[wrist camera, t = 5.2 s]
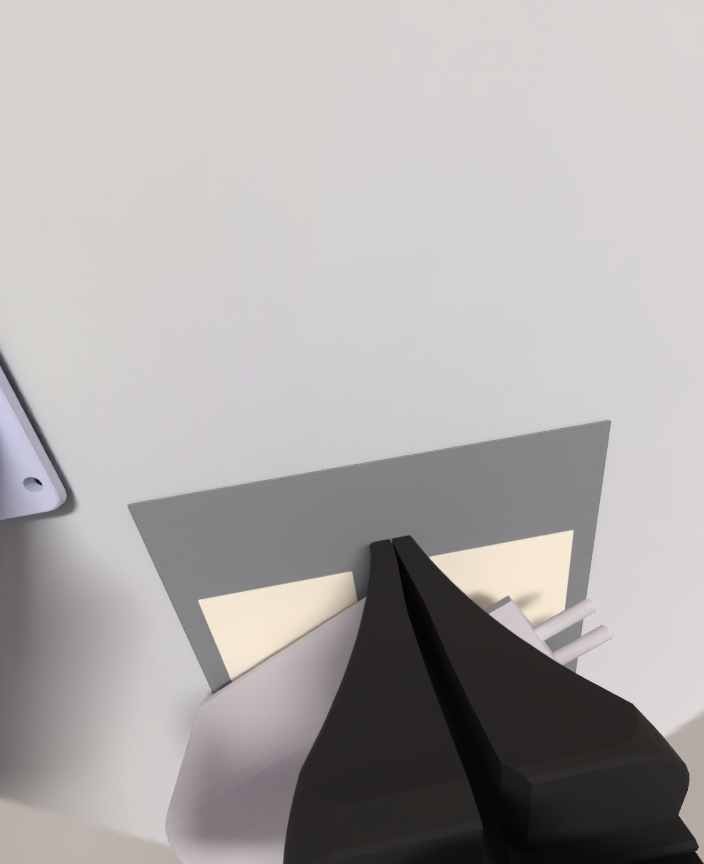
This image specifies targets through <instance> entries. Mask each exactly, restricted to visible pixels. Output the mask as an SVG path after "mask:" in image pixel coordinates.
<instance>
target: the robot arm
mask: <svg viewBox="0 0 704 864" xmlns="http://www.w3.org/2000/svg"><path fill="white" fill-rule="evenodd" d="M34 478H36V479H38V480H39V481H40V482H41V483H42V485H40V484H38V483H37V482H36V481H35V480H34ZM66 497H67V494H66V491H65V489H64V487H63V485H62V483H61V481H60V479H59V477H58V475H57V473H56V471H55V470H54V468H53V466H52V464H51V462H50V460H49V458H48V456H47V454H46V452H45V450H44V449H43V447H42V445H41V443H40V441H39V439H38V437H37V435H36V433H35V431H34V429H33V428H32V426H31V424H30V422H29V420H28V418H27V416H26V414H25V412H24V410H23V409H22V407H21V405H20V403H19V401H18V399H17V397H16V395H15V393H14V391H13V389H12V388H11V386H10V384H9V382H8V380H7V378H6V376H5V374H4V372H3V370H2V369H1V367H0V520H4V519H10V518H15V517H21V516H27V515H33V514H38V513H44V512H50V511H52V510H55V509H56V508H58V507H59V506H60V505H62V504H63V503H64V502H65V501H66ZM392 543H393V545H392ZM392 543H391V540H390V539H386V540H381V541H375V542H372V543H371V544H370V545H369V546H370V554H371V563H370V575H369V582H368V589H367V595H366V600H365V605H364V610H363V614H362V619H361V623H360V626H359V630H358V634H357V637H356V641H355V644H354V647H353V650H352V653H351V656H350V659H349V662H348V665H347V668H346V671H345V673H344V676H343V679H342V681H341V684H340V686H339V689H338V691H337V693H336V696H335V698H334V700H333V703H332V705H331V707H330V710H329V712H328V715H327V717H326V719H325V721H324V723H323V726H322V728H321V730H320V732H319V734H318V736H317V738H316V740H315V742H314V744H313V746H312V748H311V750H310V752H309V754H308V756H307V758H306V760H305V762H304V764H303V766H302V768H301V770H300V772H299V776H298V780H297V784H296V788H295V792H294V796H293V801H292V805H291V810H290V814H289V819H288V825H287V831H286V839H285V845H284V856H283V864H703V862H702V861H701V859H700V858H699V856H698V855H697V853H696V852H695V851H697V850H698V847H699V846H698V844H697V842H696V839H695V838H694V837H693V835H692V834H691V832H690V831H689V830H688V828H687V827H686V825H685V824H684V822H683V821H682V820H681V818H680V817H679V816H678V814H679V811H680V809H681V806H682V804H683V801H684V798H685V796H686V793H687V791H688V786H689V772H688V770H687V767H686V764H685V763H684V762H683V761H682V759H681V758H680V757H679V756H678V754H677V753H676V752H675V751H674V749H673V748H672V747H671V746H670V745H669V744H668V742H667V741H666V740H665V738H664V737H663V736H662V735H661V734H660V733H659V732H658V730H657V729H656V728H655V727H654V726H653V725H652V724H651V723H650V722H649V721H648V720H647V719H646V718H645V716H644V715H643V714H642V713H641V712H640V711H639V710H638V709H637V708H636V707H635V706H634V705H633V704H632V703H630V702H628V701H626V700H625V699H623V698H621V697H619V696H617V695H615V694H613V693H611V692H610V691H608V690H606V689H604V688H602V687H600V686H598V685H596V684H595V683H593V682H591V681H589V680H587V679H585V678H583V677H581V676H580V675H578V674H576V673H575V672H573V671H571V670H570V669H568V668H566V667H565V666H563V665H561V664H560V663H558V662H556V661H555V660H553V659H552V658H550V657H549V656H547V655H546V654H544V653H543V652H541V651H540V650H538V649H537V648H535V647H534V646H532V645H531V644H529V643H528V642H526V641H525V640H523V639H522V638H520V637H519V636H517V635H516V634H514V633H513V632H512V631H510V630H509V629H508V628H506V627H505V626H504V625H502V624H501V623H500V622H498V621H497V620H496V619H494V618H493V617H492V616H491V615H489V614H488V613H487V612H486V611H484V610H483V609H482V608H481V607H480V606H478V605H477V604H476V603H475V602H474V601H473V600H471V599H470V598H469V597H468V596H467V595H466V594H465V593H464V592H463V591H461V590H460V589H459V588H458V587H457V586H456V585H455V584H454V583H453V582H452V581H451V580H450V579H449V578H448V577H447V576H446V575H445V574H444V573H443V572H442V571H441V570H440V569H439V568H438V567H437V566H436V565H435V564H434V562H433V561H432V560H431V559H430V558H429V557H428V556H427V555H426V553H425V552H424V551H423V550H422V549H421V547H420V546H419V545H418V544H417V542H416V541H415V540H414V538H413V537H411V536H410V535H407V536H402V537H397V538H392Z"/></svg>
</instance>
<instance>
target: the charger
mask: <svg viewBox="0 0 704 864" xmlns="http://www.w3.org/2000/svg"><path fill="white" fill-rule="evenodd" d="M365 600H366V597H365V598H363V599H362V600H360V601H359V602H357V603H355V604H354V605H352V606H351V607H349V608H348V609H346V610H344V611H343V612H341V613H340V614H338V615H337V616H335V617H334V618H332V619H330V620H329V621H327V622H326V623H324V624H323V625H321V626H319V627H318V628H316V629H315V630H313V631H312V632H310V633H308V634H307V635H305V636H304V637H302V638H301V639H299V640H297V641H296V642H294V643H293V644H291V645H290V646H288V647H287V648H285V649H283V650H282V651H280V652H279V653H277V654H276V655H274V656H272V657H271V658H269V659H268V660H266V661H265V662H263V663H261V664H260V665H258V666H257V667H255V668H254V669H252V670H250V671H249V672H247V673H246V674H244V675H243V676H241V677H240V678H238V679H236V680H235V681H233V682H232V683H230V684H229V685H227V686H225V687H224V688H222V689H221V690H219V691H218V692H216V693H214V694H213V695H211V696H210V697H208V698H207V699H205V700H203V701H202V703H201V704H200V706H199V708H198V711H197V715H196V718H195V721H194V725H193V728H192V731H191V735H190V738H189V741H188V745H187V748H186V752H185V755H184V758H183V762H182V765H181V768H180V772H179V775H178V778H177V782H176V785H175V788H174V792H173V795H172V798H171V802H170V805H169V808H168V812H167V817H166V826H165V828H166V833H167V838H168V842H169V843H170V845H171V847H172V849H173V851H174V853H175V855H176V856H177V857H178V858H180V860H181V861H182V862H183V863H184V864H283V856H284V845H285V839H286V831H287V825H288V819H289V814H290V810H291V805H292V801H293V796H294V792H295V788H296V784H297V780H298V776H299V772H300V770H301V768H302V766H303V764H304V762H305V760H306V758H307V756H308V754H309V752H310V750H311V748H312V746H313V744H314V742H315V740H316V738H317V736H318V734H319V732H320V730H321V728H322V726H323V723H324V721H325V719H326V717H327V715H328V712H329V710H330V707H331V705H332V703H333V700H334V698H335V696H336V693H337V691H338V689H339V686H340V684H341V681H342V679H343V676H344V673H345V671H346V668H347V665H348V662H349V659H350V656H351V653H352V650H353V647H354V644H355V641H356V637H357V634H358V630H359V626H360V623H361V619H362V614H363V610H364V605H365ZM484 611H486V612H487V613H488V614H489V615H491V616H492V617H493V618H494V619H496V620H497V621H498V622H500V623H501V624H502V625H504V626H505V627H506V628H508V629H509V630H510V631H512V632H513V633H514V634H516V635H517V636H519V637H520V638H522V639H523V640H525V641H526V642H528V643H529V644H531V645H532V646H534V647H535V648H537V649H538V650H540V651H541V652H543V653H544V654H546V655H547V656H549V657H550V658H552V659H553V660H555V661H556V662H558V663H560V664H561V665H565V664H566V663H568V662H570V661H572V660H574V659H575V658H577V657H579V656H581V655H583V654H585V653H586V652H588V651H590V650H592V649H594V648H596V647H597V646H599V645H601V644H603V643H605V642H606V641H608V640H610V639H612V637H613V635H612V633H611V631H610V630H609V629H608V628H607V627H606V626H602V625H601V626H599V627H598V628H596V629H594V630H592V631H590V632H589V633H587V634H585V635H583V636H581V637H580V638H578V639H576V640H574V641H572V642H571V643H569V644H567V645H565V646H563V647H562V648H560V649H558V650H556V651H554V652H552V651H551V650H550V648H549V647H548V645H547V644H546V643H545V641H544V640H546V639H548V638H550V637H552V636H553V635H555V634H557V633H559V632H560V631H562V630H564V629H566V628H567V627H569V626H571V625H573V624H575V623H576V622H578V621H580V620H582V619H583V618H585V617H587V616H589V615H591V614H592V613H594V612H595V611H596V606H595V605H594V604H593V603H592V602H591V601H590V600H589V599H583V600H581V601H579V602H578V603H576V604H574V605H572V606H571V607H569V608H567V609H565V610H564V611H562V612H560V613H558V614H557V615H555V616H553V617H551V618H550V619H548V620H546V621H544V622H543V623H541V624H539V625H537V626H536V627H534V626H533V625H532V624H531V622H530V621H529V620H528V618H527V617H526V616H525V615H524V613H523V612H522V611H521V609H520V608H519V607H518V605H517V604H516V603H515V601H514V600H513V599H512V598H511V597H510V596H509V595H508V596H506V597H505V598H503V599H501V600H500V601H498V602H496V603H495V604H493V605H491V606H490V607H488V608H486V609H484Z"/></svg>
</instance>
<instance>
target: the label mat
mask: <svg viewBox="0 0 704 864" xmlns="http://www.w3.org/2000/svg"><path fill="white" fill-rule="evenodd" d="M610 425H611V421H610V420H607V421H601V422H596V423H590V424H584V425H579V426H573V427H567V428H561V429H556V430H550V431H544V432H539V433H533V434H527V435H521V436H516V437H510V438H504V439H499V440H493V441H487V442H481V443H476V444H470V445H464V446H459V447H453V448H447V449H441V450H436V451H430V452H424V453H419V454H413V455H407V456H401V457H396V458H390V459H384V460H379V461H373V462H367V463H362V464H356V465H350V466H344V467H339V468H333V469H327V470H322V471H316V472H310V473H304V474H299V475H293V476H287V477H282V478H276V479H270V480H264V481H259V482H253V483H247V484H242V485H236V486H230V487H224V488H219V489H213V490H207V491H202V492H196V493H190V494H185V495H179V496H173V497H167V498H162V499H156V500H150V501H145V502H139V503H133V504H129V505H128V508H129V510H130V513H131V515H132V517H133V519H134V521H135V523H136V526H137V528H138V530H139V532H140V534H141V537H142V539H143V541H144V543H145V545H146V548H147V550H148V552H149V554H150V556H151V559H152V561H153V563H154V565H155V567H156V569H157V572H158V574H159V576H160V578H161V580H162V583H163V585H164V587H165V589H166V591H167V594H168V596H169V598H170V600H171V602H172V605H173V607H174V609H175V611H176V613H177V615H178V618H179V620H180V622H181V624H182V626H183V629H184V631H185V633H186V635H187V637H188V640H189V642H190V644H191V646H192V648H193V650H194V653H195V655H196V657H197V659H198V661H199V664H200V666H201V668H202V670H203V672H204V675H205V677H206V679H207V681H208V683H209V686H210V688H211V690H212V692H213V694H214V693H216V692H218V691H219V690H221V689H222V688H224V687H225V686H227V685H229V684H230V683H232V682H233V681H235V680H236V679H238V678H240V677H241V676H243V675H244V674H246V673H247V672H249V671H250V670H252V669H254V668H255V667H257V666H258V665H260V664H261V663H263V662H265V661H266V660H268V659H269V658H271V657H272V656H274V655H276V654H277V653H279V652H280V651H282V650H283V649H285V648H287V647H288V646H290V645H291V644H293V643H294V642H296V641H297V640H299V639H301V638H302V637H304V636H305V635H307V634H308V633H310V632H312V631H313V630H315V629H316V628H318V627H319V626H321V625H323V624H324V623H326V622H327V621H329V620H330V619H332V618H334V617H335V616H337V615H338V614H340V613H341V612H343V611H344V610H346V609H348V608H349V607H351V606H352V605H354V604H355V603H357V602H359V601H360V600H362V599H363V598H365V597H366V595H367V589H368V582H369V575H370V563H371V554H370V546H369V545H370V544H371V543H372V542H375V541H381V540H386V539H390V540H391V543H392V538H397V537H402V536H407V535H410V536H411V537H413V538H414V540H415V541H416V542H417V544H418V545H419V546H420V547H421V549H422V550H423V551H424V552H425V553H426V555H427V556H428V557H429V558H430V559H431V560H432V561H433V562H434V564H435V565H436V566H437V567H438V568H439V569H440V570H441V571H442V572H443V573H444V574H445V575H446V576H447V577H448V578H449V579H450V580H451V581H452V582H453V583H454V584H455V585H456V586H457V587H458V588H459V589H460V590H461V591H463V592H464V593H465V594H466V595H467V596H468V597H469V598H470V599H471V600H473V601H474V602H475V603H476V604H477V605H478V606H480V607H481V608H482V609H483V610H484V609H486V608H488V607H490V606H491V605H493V604H495V603H496V602H498V601H500V600H501V599H503V598H505V597H506V596H508V595H509V596H510V597H511V598H512V599H513V600H514V601H515V603H516V604H517V605H518V607H519V608H520V609H521V611H522V612H523V613H524V615H525V616H526V617H527V618H528V620H529V621H530V622H531V624H532V625H533V626H534V627H536V626H537V625H539V624H541V623H543V622H544V621H546V620H548V619H550V618H551V617H553V616H555V615H557V614H558V613H560V612H562V611H564V610H565V609H567V608H569V607H571V606H572V605H574V604H576V603H578V602H579V601H581V600H583V599H586V595H587V588H588V581H589V574H590V567H591V560H592V553H593V546H594V539H595V532H596V524H597V517H598V510H599V503H600V496H601V489H602V482H603V475H604V468H605V461H606V454H607V447H608V439H609V432H610ZM392 545H393V543H392ZM582 624H583V619H582V620H580V621H578V622H576V623H575V624H573V625H571V626H569V627H567V628H566V629H564V630H562V631H560V632H559V633H557V634H555V635H553V636H552V637H550V638H548V639H546V640H544V641H545V643H546V644H547V645H548V647H549V648H550V650H551V651H552V652H554V651H556V650H558V649H560V648H562V647H563V646H565V645H567V644H569V643H571V642H572V641H574V640H576V639H578V638H580V637H581V631H582ZM577 659H578V657H577V658H575V659H574V660H572V661H570V662H568V663H566V664H565V665H563V666H565V667H566V668H568V669H570V670H571V671H573V672H575V673H576V666H577Z"/></svg>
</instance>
